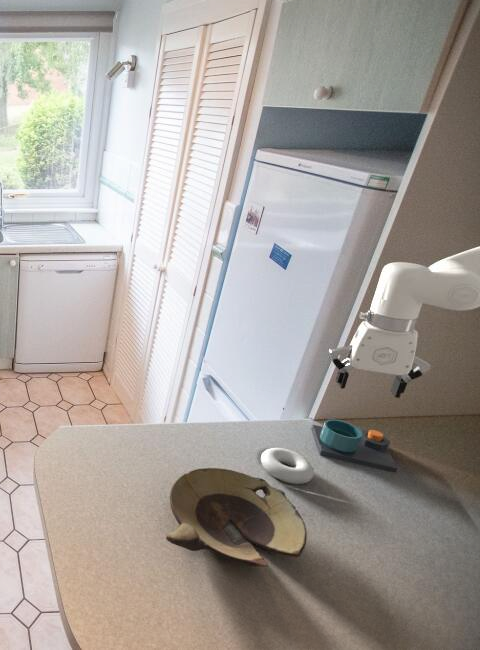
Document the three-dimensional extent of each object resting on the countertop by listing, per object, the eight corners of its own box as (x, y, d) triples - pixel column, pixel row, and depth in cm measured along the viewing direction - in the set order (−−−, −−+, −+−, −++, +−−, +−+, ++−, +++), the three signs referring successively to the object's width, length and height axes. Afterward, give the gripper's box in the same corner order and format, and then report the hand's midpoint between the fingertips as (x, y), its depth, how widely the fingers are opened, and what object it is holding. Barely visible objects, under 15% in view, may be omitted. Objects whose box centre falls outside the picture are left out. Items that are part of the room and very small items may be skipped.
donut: (275, 451, 109) (249, 464, 105) (279, 439, 108) (253, 452, 103) (321, 478, 101) (295, 493, 96) (325, 465, 99) (299, 480, 95)
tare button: (379, 436, 109) (381, 431, 108) (382, 443, 107) (385, 437, 106) (365, 433, 110) (367, 428, 109) (368, 440, 108) (370, 434, 107)
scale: (381, 443, 110) (385, 433, 109) (397, 473, 101) (401, 463, 100) (310, 428, 116) (314, 418, 115) (319, 455, 107) (323, 445, 106)
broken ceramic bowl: (335, 570, 80) (348, 539, 77) (175, 592, 77) (182, 561, 74) (247, 479, 100) (255, 451, 98) (119, 493, 97) (122, 465, 94)
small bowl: (352, 439, 110) (357, 424, 108) (360, 457, 104) (366, 441, 102) (316, 431, 113) (321, 416, 111) (322, 448, 107) (327, 433, 105)
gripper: (344, 321, 96) (323, 390, 103) (453, 334, 89) (424, 407, 96) (335, 309, 103) (317, 375, 109) (437, 320, 95) (410, 389, 102)
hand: (367, 390), depth 102 cm, fingers open, 9 cm apart
